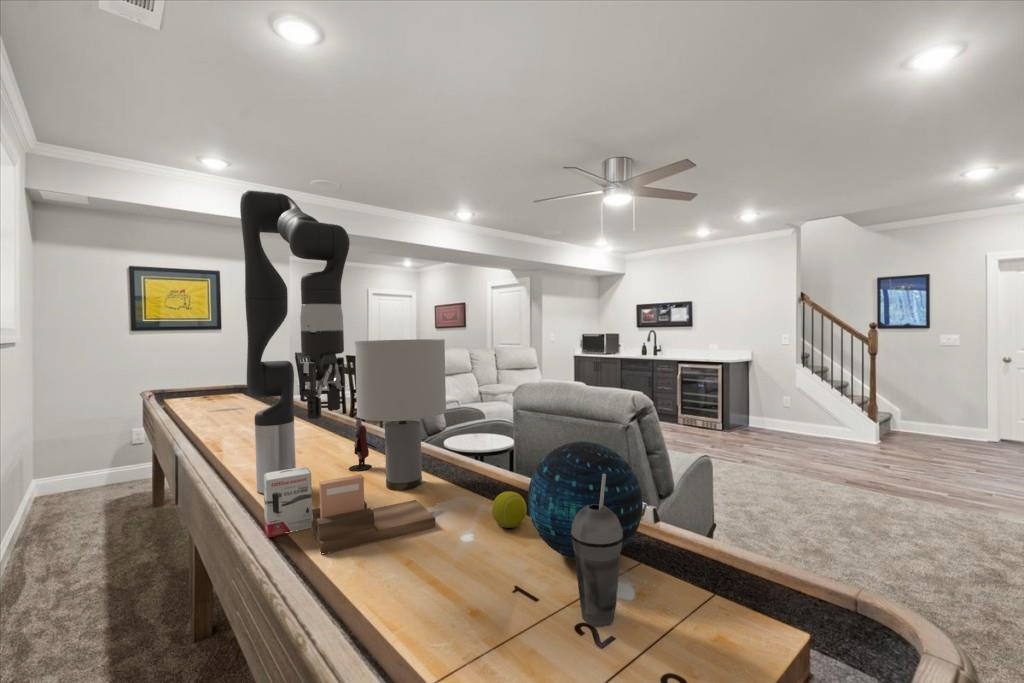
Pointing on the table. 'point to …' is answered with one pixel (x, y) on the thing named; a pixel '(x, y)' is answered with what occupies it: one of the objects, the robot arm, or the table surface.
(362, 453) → the figurine
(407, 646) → the table surface
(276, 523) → the ink box
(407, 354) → the lamp
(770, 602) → the table surface
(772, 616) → the table surface
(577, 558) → the beverage cup
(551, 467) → the decorative sphere
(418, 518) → the block
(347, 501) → the stub
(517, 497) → the tennis ball
